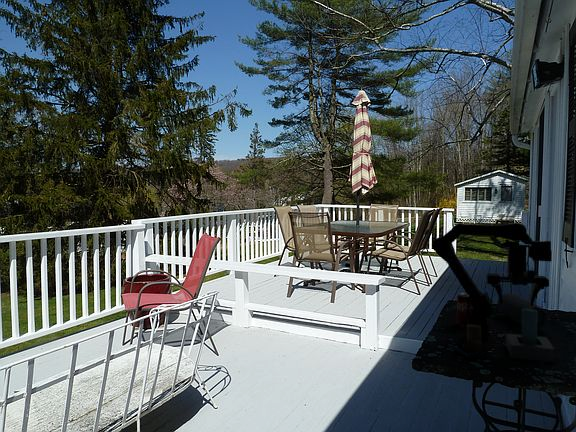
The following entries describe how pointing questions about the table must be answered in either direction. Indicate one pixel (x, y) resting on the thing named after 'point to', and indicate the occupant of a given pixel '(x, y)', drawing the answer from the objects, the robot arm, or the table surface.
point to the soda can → (463, 309)
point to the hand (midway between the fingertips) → (516, 304)
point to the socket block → (530, 349)
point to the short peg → (474, 338)
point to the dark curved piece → (520, 309)
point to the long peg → (529, 326)
